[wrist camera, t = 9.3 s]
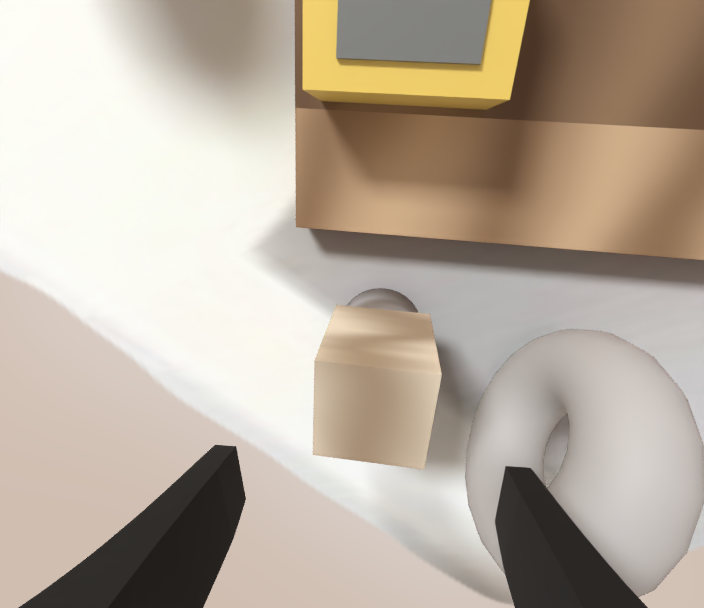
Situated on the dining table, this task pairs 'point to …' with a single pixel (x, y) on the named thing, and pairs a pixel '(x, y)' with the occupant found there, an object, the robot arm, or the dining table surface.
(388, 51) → the stud finder
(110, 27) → the dining table surface
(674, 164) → the board
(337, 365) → the wooden block with base
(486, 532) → the donut
